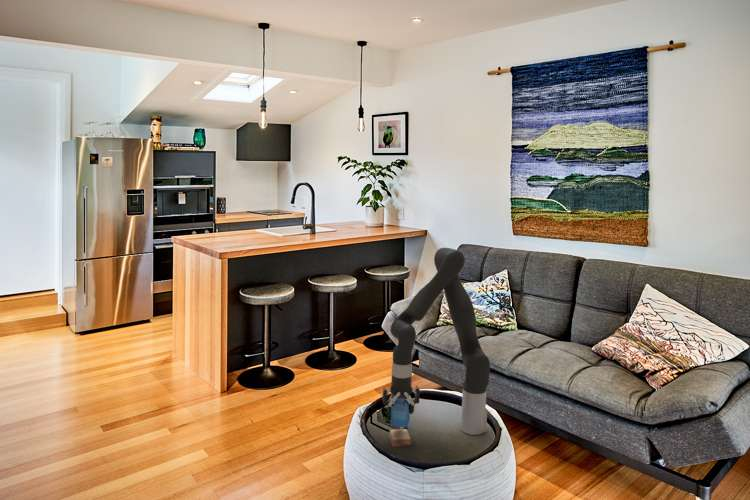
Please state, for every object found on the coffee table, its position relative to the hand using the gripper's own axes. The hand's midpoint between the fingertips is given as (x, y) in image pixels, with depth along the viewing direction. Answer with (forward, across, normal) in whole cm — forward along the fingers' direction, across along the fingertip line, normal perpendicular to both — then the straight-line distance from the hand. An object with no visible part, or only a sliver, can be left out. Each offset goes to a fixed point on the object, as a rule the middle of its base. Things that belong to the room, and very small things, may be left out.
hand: (400, 413), depth 206 cm
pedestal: (+11, 0, 0) cm, 11 cm away
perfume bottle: (+4, 0, 0) cm, 4 cm away
